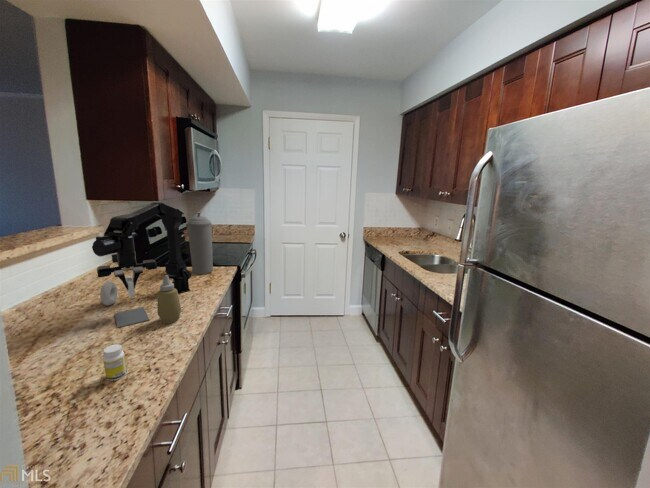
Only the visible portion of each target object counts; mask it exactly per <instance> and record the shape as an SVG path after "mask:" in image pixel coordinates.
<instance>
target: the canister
mask: <svg viewBox="0 0 650 488" xmlns="http://www.w3.org/2000/svg"><path fill="white" fill-rule="evenodd" d="M196 214H197V216H192V217H191V218H190V219H189V221H188V222H187V224H186V226H187V231H188V241H189V252H190V253H189V254H190V260H191V269H192V273H193V274H194V275H197V276H198V275H200V276H201V275H207V274H211V273H212V272H213V271H214V263H213V261H214V260H213V237H212V236H213V235H212V233H213V231H212V230H213V229H212V224H213V223H212V221H210V220H209V218H208V217H206V216H201V214H202V211H200V212H199V211H197V212H196Z"/></svg>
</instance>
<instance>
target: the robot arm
mask: <svg viewBox="0 0 650 488" xmlns="http://www.w3.org/2000/svg"><path fill="white" fill-rule="evenodd" d="M154 216H158V217H160V220H161V222H162V224H163V226H164V227H165V228H166V235H167V236H166V237H167V245H168V257H169V259H168V261H167V263H166V262H165V264H164V268H165V273H166V275H168V277H169V280H172V281H171V283H173V284H174V288H175V289H177V291H178V294H179V293H184V292H185V293H186V292H189V291H191V289H190V285H189V283H190V282H189V280H190V279H191V278H192V273H193V272H191V271H190V270H189V269H188V268H187V264H186V262H185V260H183V258H182V249H181V248H182V247H181V240H180V239H181V238H180V226H181V224H182V222H183V213H182V211H181V210H180V209H178V208H174V207H172V206H170V205H167V204H165V203H164V202H157V201H155V202H151V203H150V204H148V205H146V206H144V207H142V208H140V209H138V210H136V211H134V212H131V213H128V214H127V213H126V214H121V215H116V216H112V217H111V218H110V219H109V224H108V226H107V228H106V229H105V232H104V233H103V236H102V235H101V236H100V235H99V236H96V237H95V241H94V242H93V243H92V246H91V249H92V252H93V253H94V255H96V256H98V257H104V256H109V255H111V262H112V263H113V264H117V266H113V267H112V266H110V264H109V265H108V264H107V265H99V266H97V268H96V273H97V278H105V277H110V276H111V275H112V273H113V275H114V277H115V278H119V279H120V281H121V282H122V283H123V286H124V287H125V289H126V291H127V290H128V285H127V282H126V275H125V271H132V281H133V283H134V290H135V288H136V286H137V283H138V279H139V277H140V275H141V274H144V270H143V269H146V270H147V271H151V270H157V269H158V264H157V261H156V260H154V259H145V260H144V259H143V260H142V262H141V263H137V255H136V250H135V239H134V238H136V237H138V236H139V234H137V233H136V232H135V230H137V229H138V228H139V226H140V224H141V223H143V222H144V221H147V220H148V219H150V218H152V217H154Z"/></svg>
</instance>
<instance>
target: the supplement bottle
mask: <svg viewBox="0 0 650 488" xmlns="http://www.w3.org/2000/svg"><path fill="white" fill-rule="evenodd" d="M125 355H126V354H125V352H124V351H123V346H122V345H121V344H117V343H116V344H112V345H109V346H106V347H105V348H104V349H103V358H102V361H103V367H104V372H105V373H104V374H105V378H106V380H107V381H109V380H110V381H109V382H112V381H113V380H114V381H118V380H121V379H122V378H124V377H125V376H126V375H127V374H128V369H127V363H126V361H127V360H126V356H125ZM120 378H121V379H120ZM114 381H113V382H114Z"/></svg>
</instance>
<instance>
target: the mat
mask: <svg viewBox="0 0 650 488" xmlns="http://www.w3.org/2000/svg"><path fill="white" fill-rule="evenodd" d="M113 314H114V318H115V323H116V326H117V327H116V328H117V329H119V328H125V327H128V326H133V325H137V324H140V323H145V322H148V321H150V318H149V316H148V314H147V311H146V310H145V308H144V306H141V307H137V308H133V309H128V310H124V311H123V310H122V311H118V312H114V313H113Z"/></svg>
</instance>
